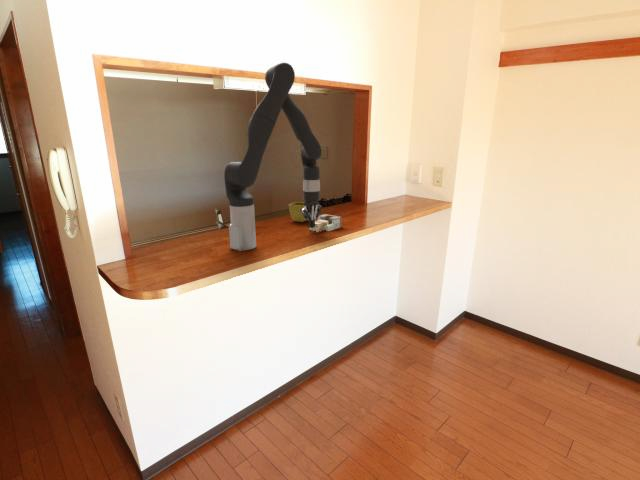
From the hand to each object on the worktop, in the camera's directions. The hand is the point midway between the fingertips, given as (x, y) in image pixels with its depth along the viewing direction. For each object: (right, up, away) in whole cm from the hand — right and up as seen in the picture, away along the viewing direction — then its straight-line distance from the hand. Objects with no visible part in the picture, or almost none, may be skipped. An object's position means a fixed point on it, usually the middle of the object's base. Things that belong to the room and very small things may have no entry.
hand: (311, 227), depth 167 cm
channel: (+7, 0, +9) cm, 11 cm away
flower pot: (-6, +4, +22) cm, 23 cm away
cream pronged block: (+3, -1, +5) cm, 6 cm away
